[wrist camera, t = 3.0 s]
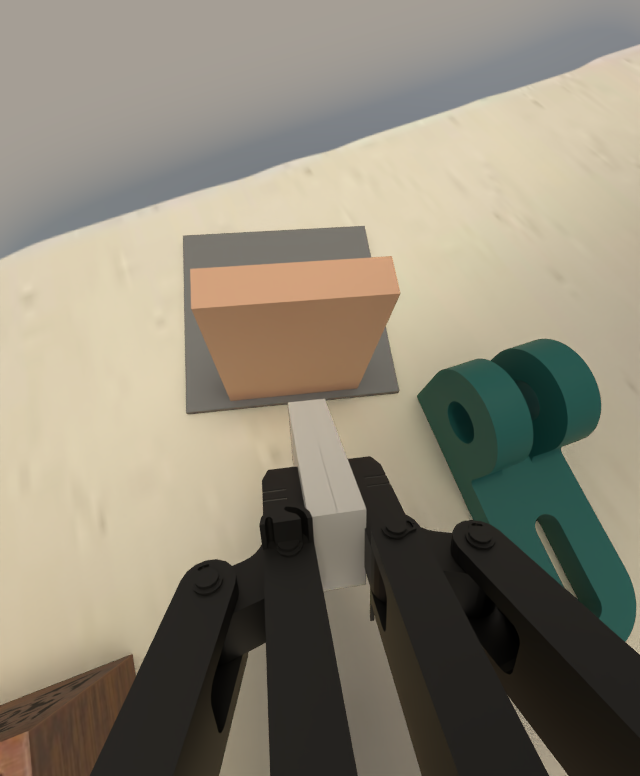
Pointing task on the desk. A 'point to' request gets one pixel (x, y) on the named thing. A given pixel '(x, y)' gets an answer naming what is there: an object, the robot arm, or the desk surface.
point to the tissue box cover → (63, 723)
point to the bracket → (531, 463)
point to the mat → (270, 249)
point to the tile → (293, 323)
